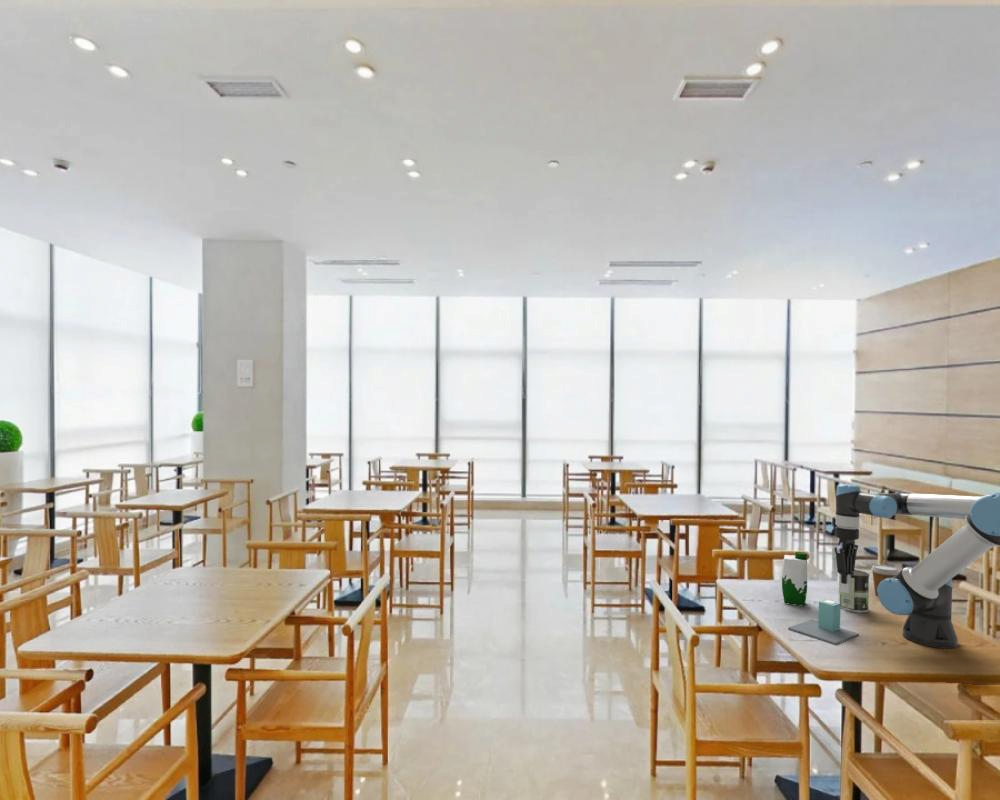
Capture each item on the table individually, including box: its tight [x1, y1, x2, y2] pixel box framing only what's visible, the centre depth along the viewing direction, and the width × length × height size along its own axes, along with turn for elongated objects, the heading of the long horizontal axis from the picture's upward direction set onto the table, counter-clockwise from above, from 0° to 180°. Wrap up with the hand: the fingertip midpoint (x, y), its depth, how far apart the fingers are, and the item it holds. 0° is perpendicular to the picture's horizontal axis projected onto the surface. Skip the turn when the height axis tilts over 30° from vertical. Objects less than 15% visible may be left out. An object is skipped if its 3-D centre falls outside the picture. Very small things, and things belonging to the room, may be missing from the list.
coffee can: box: [838, 569, 870, 614], centre depth 234 cm, size 10×10×14 cm
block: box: [817, 599, 841, 632], centre depth 209 cm, size 5×5×9 cm
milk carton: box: [781, 551, 808, 607], centre depth 239 cm, size 9×9×20 cm
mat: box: [787, 618, 859, 645], centre depth 207 cm, size 16×16×1 cm
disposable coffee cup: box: [870, 564, 899, 597], centre depth 251 cm, size 10×10×12 cm
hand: (845, 592), depth 217 cm, fingers closed
